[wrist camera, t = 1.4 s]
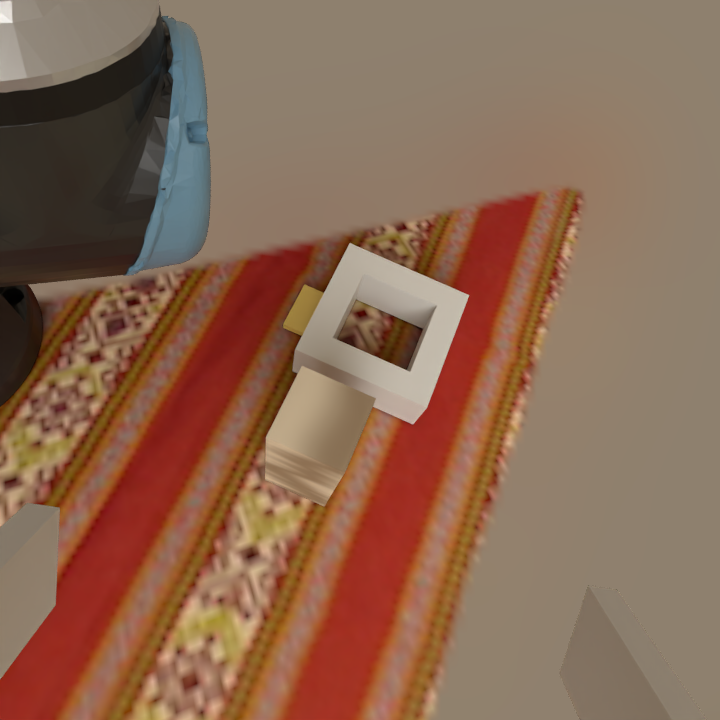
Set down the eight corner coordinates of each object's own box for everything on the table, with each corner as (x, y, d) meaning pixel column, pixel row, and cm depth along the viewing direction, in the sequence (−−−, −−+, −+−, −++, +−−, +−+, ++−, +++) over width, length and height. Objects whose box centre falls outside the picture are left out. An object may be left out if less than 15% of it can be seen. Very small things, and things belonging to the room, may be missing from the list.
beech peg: (265, 480, 39) (265, 437, 30) (292, 423, 41) (301, 365, 31) (324, 506, 39) (344, 472, 29) (348, 448, 41) (376, 398, 31)
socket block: (265, 359, 43) (266, 336, 39) (319, 260, 47) (323, 231, 44) (413, 424, 43) (426, 407, 39) (453, 319, 47) (469, 295, 43)
